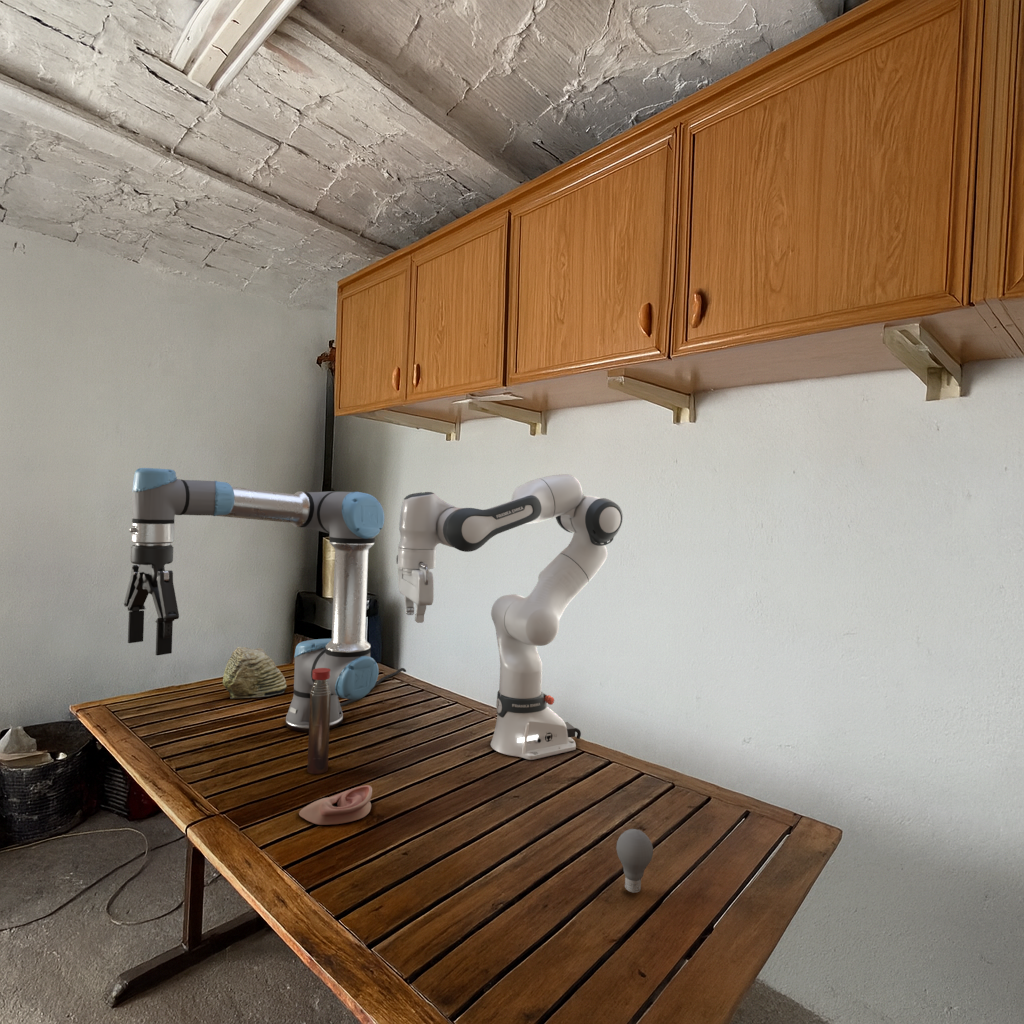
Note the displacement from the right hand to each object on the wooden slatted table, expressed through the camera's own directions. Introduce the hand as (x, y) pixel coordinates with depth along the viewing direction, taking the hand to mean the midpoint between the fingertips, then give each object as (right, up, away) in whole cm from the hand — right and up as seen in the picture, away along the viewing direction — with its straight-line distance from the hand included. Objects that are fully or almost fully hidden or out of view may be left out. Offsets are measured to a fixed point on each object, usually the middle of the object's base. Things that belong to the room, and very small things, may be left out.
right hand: (414, 618), depth 150 cm
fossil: (-57, -32, +48) cm, 81 cm away
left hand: (-51, -3, -21) cm, 55 cm away
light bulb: (+43, -38, -45) cm, 73 cm away
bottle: (-22, -35, -4) cm, 41 cm away
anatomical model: (-12, -35, -23) cm, 44 cm away
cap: (-21, -12, -4) cm, 24 cm away
